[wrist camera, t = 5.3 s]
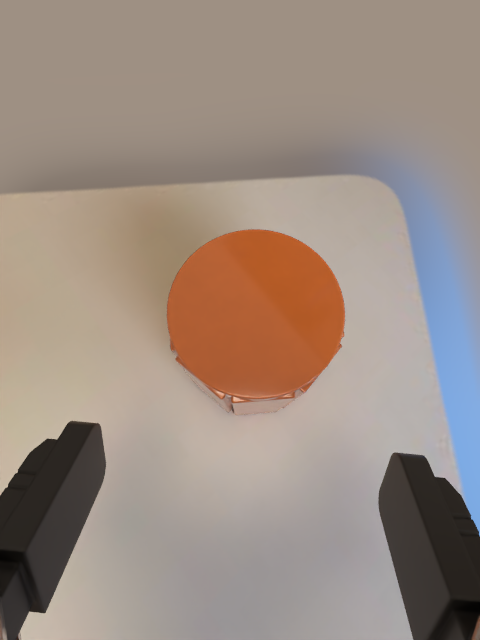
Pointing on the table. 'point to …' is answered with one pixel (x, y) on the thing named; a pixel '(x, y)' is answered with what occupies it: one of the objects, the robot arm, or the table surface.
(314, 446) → the table surface
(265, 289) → the orange cup
